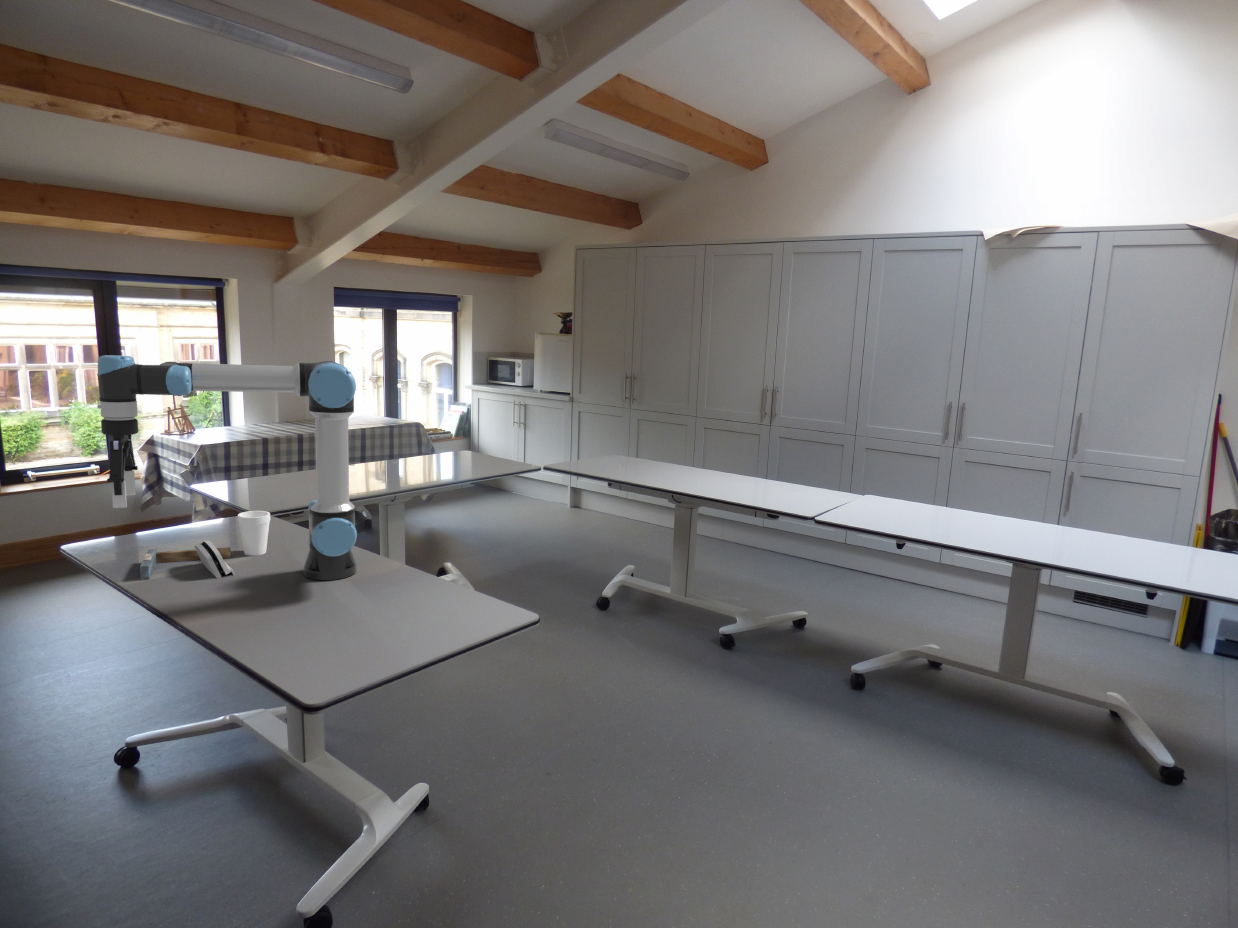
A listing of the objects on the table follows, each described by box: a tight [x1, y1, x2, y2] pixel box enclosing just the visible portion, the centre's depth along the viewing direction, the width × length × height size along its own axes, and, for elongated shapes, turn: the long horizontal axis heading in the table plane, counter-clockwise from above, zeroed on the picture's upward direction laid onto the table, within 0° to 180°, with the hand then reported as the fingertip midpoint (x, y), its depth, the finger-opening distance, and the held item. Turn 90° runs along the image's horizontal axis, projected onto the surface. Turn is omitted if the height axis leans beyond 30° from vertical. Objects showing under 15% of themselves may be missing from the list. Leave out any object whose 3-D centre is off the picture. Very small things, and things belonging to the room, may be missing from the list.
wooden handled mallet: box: [139, 547, 232, 581], centre depth 217 cm, size 22×17×4 cm
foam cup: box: [237, 510, 271, 557], centre depth 233 cm, size 10×9×13 cm
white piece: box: [194, 539, 236, 579], centre depth 216 cm, size 17×5×10 cm, turn 43°
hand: (124, 501), depth 182 cm, fingers open, 13 cm apart
